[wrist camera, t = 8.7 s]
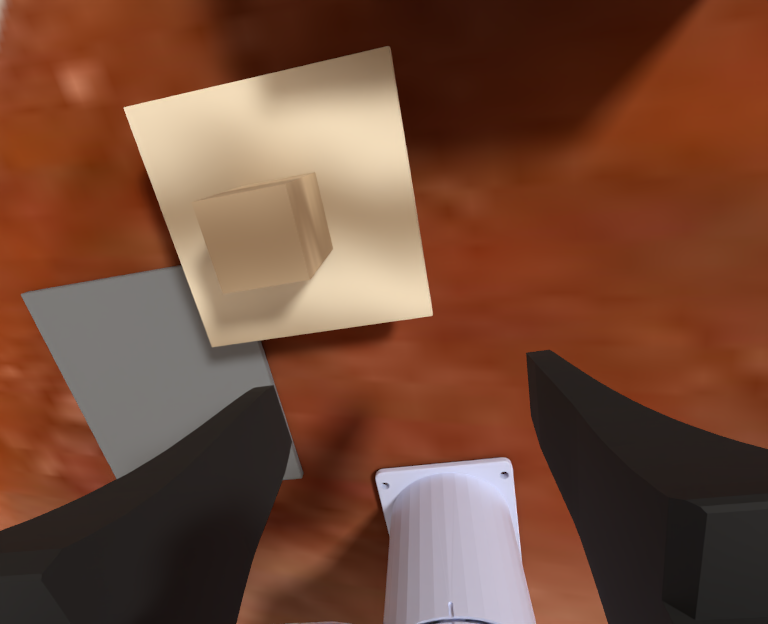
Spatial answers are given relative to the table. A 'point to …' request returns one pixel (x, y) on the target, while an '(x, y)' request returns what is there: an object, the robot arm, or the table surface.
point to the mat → (144, 362)
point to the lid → (290, 199)
